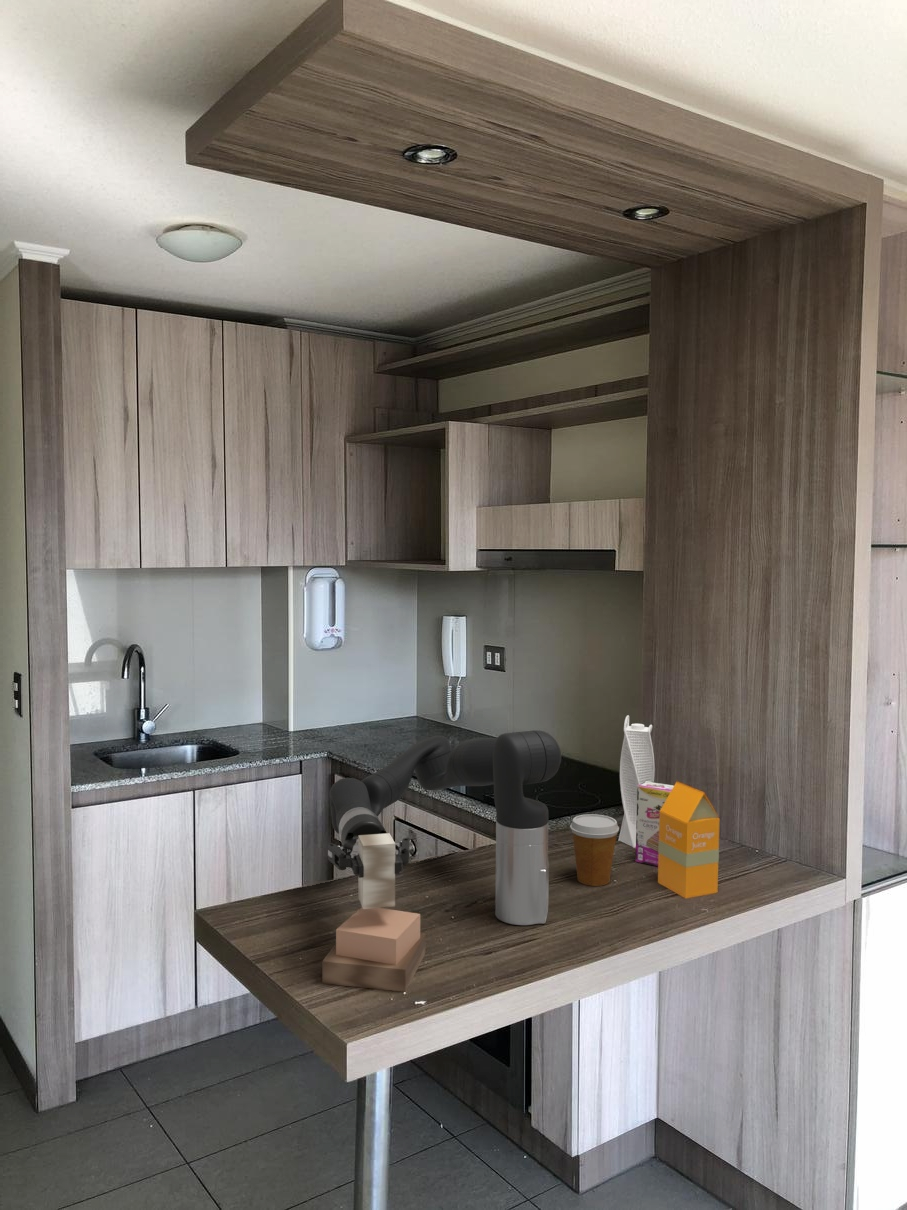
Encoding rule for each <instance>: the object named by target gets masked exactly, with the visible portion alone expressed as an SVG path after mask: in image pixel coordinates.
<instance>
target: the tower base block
mask: <svg viewBox="0 0 907 1210" xmlns="http://www.w3.org/2000/svg"><path fill="white" fill-rule="evenodd" d="M425 955H426V932H424V933H423V932H420V939H419V940H418V941H417V942H416V943H415V944H414V946H413V947H412V948H411V949H410V950H409V951H408V952H407V953H406V955H405V956H404V957H403V958H402V959H401V960H400V961H399V962H398V963H397V965H393V964H388V963H382V962H376V961H370V960H364V959H358V958H353V957H347V956H341V955H336V943H334V945H333V946H332V947H331V949H330V951H328V953H327V955H326V956H325V957H324V958H323V960H322V969H321V970H322V973H321V974H322V978H321V979H322V982H321V983H323V984H329V985H338V986H348V987H355V988H357V987H358V988H365V989H366V988H367V989H374V990H375V989H376V990H385V991H386V990H387V991H394V992H405V993H406V992H407V990H408V988H409V986H410V984H411V982H412V981H413V978H414V976H415V974H416V972H417V970H418V968H419V967H420V964H421V963H422V961H423V959H424V957H425Z"/></svg>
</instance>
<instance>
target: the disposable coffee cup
mask: <svg viewBox="0 0 907 1210" xmlns="http://www.w3.org/2000/svg"><path fill="white" fill-rule="evenodd" d="M569 828H570V829H571V832H572V840H573V847H574V848H573V849H574V850H573V851H574V857H575V868H576V877H577V881H578V882H579V883H580V884H583V885H585V886H592V887H599V886H605V885H609V883H610V881H611V874H612V866H613V861H614V860H613V859H614V855H615V854H614V853H615V845H616V840H617V835H618V833H619V830H620V826H618V821H617V820H616V819H615V818H613V817H611V816H608V815H602V814H596V813H595V814H594V813H593V814H591V813H589V814H586V813H585V814H581V815H577V816H574V817H573V819H572V822H571V823H570V826H569Z"/></svg>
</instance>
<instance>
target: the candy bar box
mask: <svg viewBox="0 0 907 1210" xmlns="http://www.w3.org/2000/svg"><path fill="white" fill-rule="evenodd" d="M673 787H674V784H673V785H672V784H666V783H660V782H656V781H654V782H649V781H645V782H643V783H642V784H639V785H638V789H637V823H636V847H635V860H634V862H636V863H642V864H645V865H649V866H650V865H651V866H654V867H658V857H659V853H658V845H659V816H660V810H661V808H662V806H663V805H664V803H665V801H666V799H667V798H668V796H669V794H670V792H671V791H672V789H673Z"/></svg>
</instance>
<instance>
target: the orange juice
mask: <svg viewBox="0 0 907 1210" xmlns="http://www.w3.org/2000/svg"><path fill="white" fill-rule="evenodd" d="M673 786H674V787H673V789H672V791H671V792H670V794H669V796H668V798H667V799H666V801H665V803H664V805H663V806H662V808H661V810H660V816H659V845H658V853H659V857H658V866H657V868H658V869H657V883H658V884H660V885H661V886H663V887H665V888H667V889H668V890H670V891H672V892H673V893H675V894H677V895H678V896H680V897H682V898H684V899H690V898H696V897H700V896H701V897H702V896H707V895H712V894H716V893H718V888H719V887H718V885H719V880H718V879H719V878H718V877H719V863H720V862H719V859H720V849H719V847H720V821H721V818H720V815H718V813H717V811H716V809H715V808H714V805H713V804H712V803H711V801H710V799H709V797H708V796H707V794H706V792H705V791H702V790H700V789H697V788H696V787H694V786H690V785H688V784H686V783H683V782H680V781H679V780H676V782H675V784H673Z"/></svg>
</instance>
